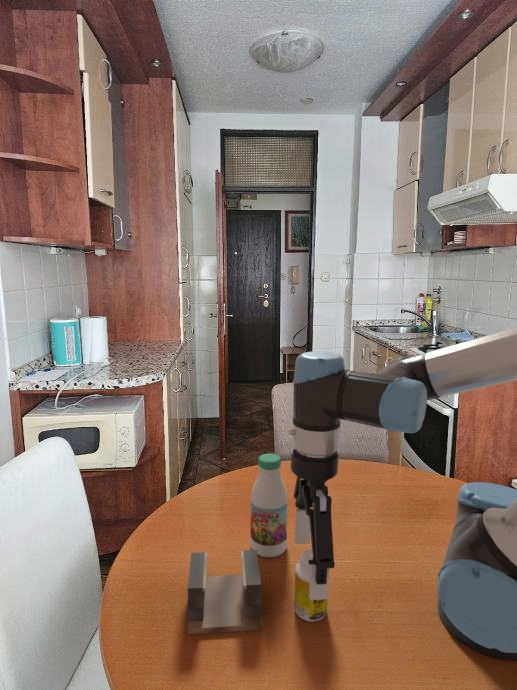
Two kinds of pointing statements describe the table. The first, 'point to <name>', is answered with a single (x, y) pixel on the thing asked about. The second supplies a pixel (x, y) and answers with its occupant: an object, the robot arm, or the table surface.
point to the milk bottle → (269, 509)
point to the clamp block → (224, 597)
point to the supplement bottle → (307, 592)
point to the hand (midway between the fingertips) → (309, 567)
